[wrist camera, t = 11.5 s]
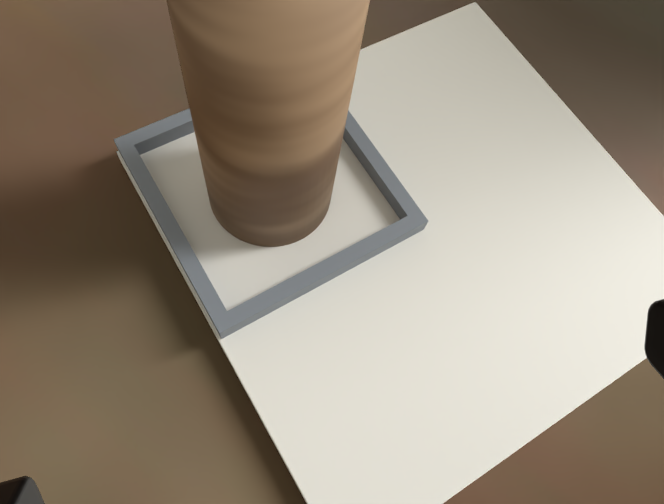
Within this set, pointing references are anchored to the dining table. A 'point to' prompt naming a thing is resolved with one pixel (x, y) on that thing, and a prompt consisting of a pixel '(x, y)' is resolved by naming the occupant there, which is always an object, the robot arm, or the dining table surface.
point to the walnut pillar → (269, 106)
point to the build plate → (423, 271)
